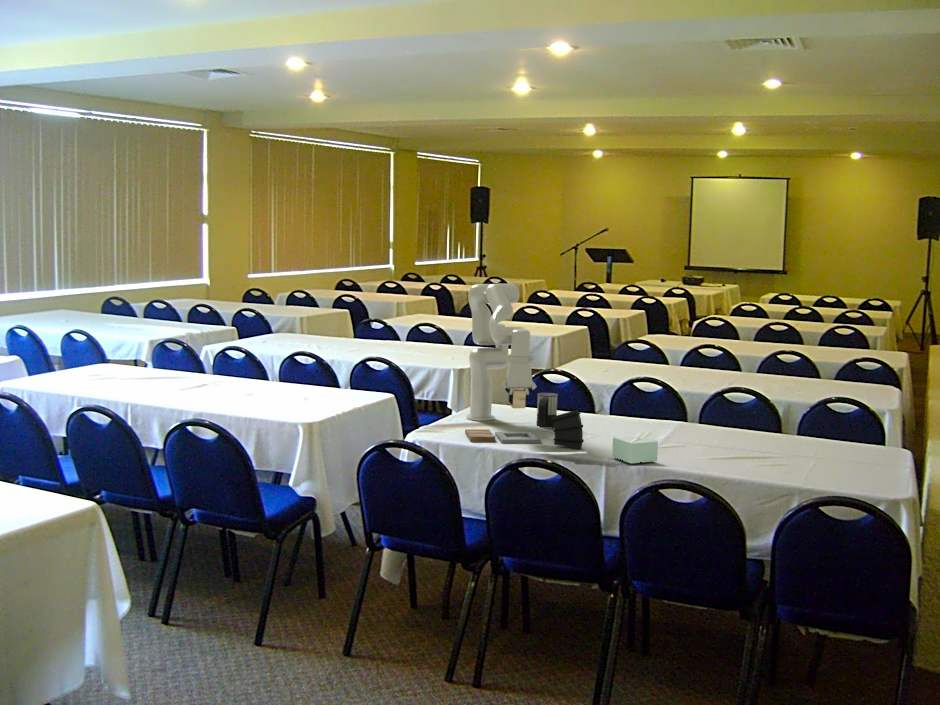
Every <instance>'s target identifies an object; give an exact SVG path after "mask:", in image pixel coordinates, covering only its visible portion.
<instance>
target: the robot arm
mask: <svg viewBox="0 0 940 705" xmlns="http://www.w3.org/2000/svg"><path fill="white" fill-rule="evenodd" d="M520 295H521V294H520V290H519V288H518V286H517V285H516V284H514V283H498V282H497V283H492V284H491V283H479V284H478V283H477V284H474V285H472V286H470V288H469V290H468V299H467V300H468V303H469V304H468V305H469V308H470V312H471V319H472V320H471V330H472V331H471V332H472V335H471V336H472V342H473V343H474V344H476V345H478V346H479V345H480V346H488V345H489V346H492V345H493V346H494V345H495V347H478V348H477V347H476V348H474V349H471V351H470V353H469V356H468V358H469V361H468V362H469V365H470V366H469V367H470V399H469V401H470V402H469V403H470V404H469V405H470V406H469V414H467V415H465V416H466V419H467V420H470V421H478V422H479V421H481V422H486V421H488V422H489V421H493V420H495V418H496V417H495V415H493V414H492V403H493V378H492V376H491V374H490V373H489V371H490V370H503V369H505V368H506V376H505V380H504V381H503V382H502V383H501V385H500V388H502V389H503V390H504V391H506V393H508V403H509V404H510V406H511V405H512V404H513V395H512V394H513V393H512V392H513V389H518V388H519V389H524V390H525V391H526V401H525V406H527V403H529V402H528V401H529V395H530V393H532V391H534V390H535V389H536V388H537V387H538V386H537V385H536V383H535V382H534V381H533V377H532V376H533V374H532V364H531V363H530V361H533V360H534V358H533V357H532V356H530V350H531V349H530V348H531V346H530V345H531V332H530V330H528V329H525V327H521V326H505V325H504V324H503V323H501V322H503V321H505V320H508V319H509V318H510V317H511V316H512V315H513V313H514V309H513V308H514V307H513V305H512V304H516V303H517V302H518V301H519V299H520V297H521V296H520ZM487 304H489V306H490V309H491V310H490V309H489V307H488V306H487ZM509 346H510V361H509ZM508 387H509V388H508Z"/></svg>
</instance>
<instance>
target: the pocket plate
mask: <svg viewBox="0 0 940 705" xmlns="http://www.w3.org/2000/svg"><path fill="white" fill-rule="evenodd" d="M494 436H495V438H496V437H497V438H496V439H497V440H498V442H500V444H541V443H542V440H541V438H540V437H539V436H538V435H536V434H535V433H534V432H533V431H494ZM506 436H522V437H506Z"/></svg>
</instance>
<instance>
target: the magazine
mask: <svg viewBox="0 0 940 705" xmlns="http://www.w3.org/2000/svg"><path fill="white" fill-rule="evenodd" d="M551 418H552V420H551V422H553V424H554V428H553V429H554V430H553V433H554V438H552V441H553V444H554V445H555V446H556V445H557V446H560V447H566V448H570V449H574V450H575V449H576V450H581V449H582V448H583V443H584V442H585V439H583V433H584V432H583V428H584V424H582V419H581V412H579V409H575V410H573V411H569V412H568V411H567V412H564V413H562V414H557V416H554V417H551Z"/></svg>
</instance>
